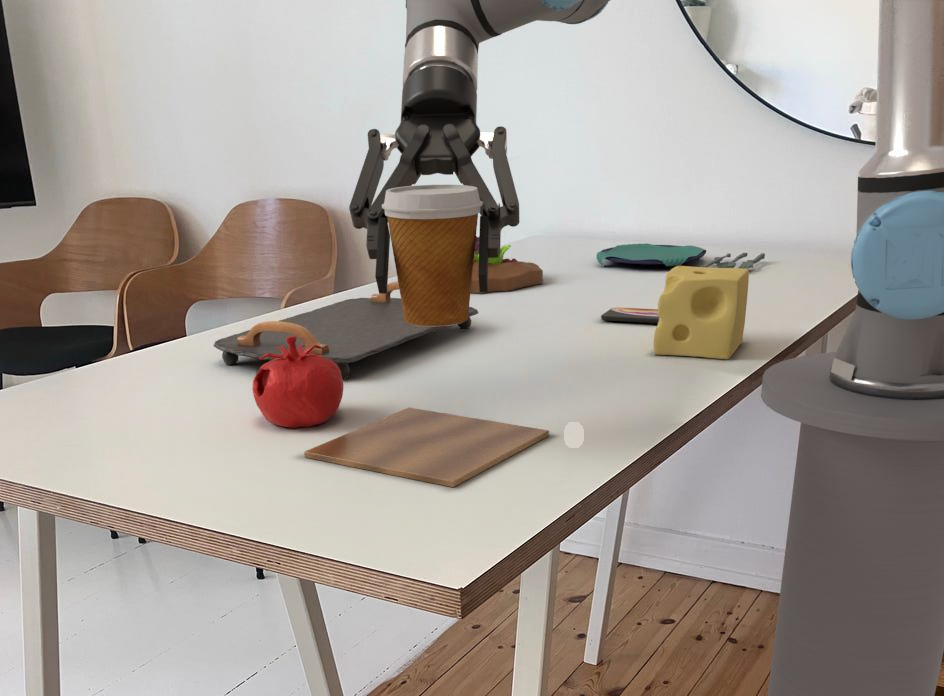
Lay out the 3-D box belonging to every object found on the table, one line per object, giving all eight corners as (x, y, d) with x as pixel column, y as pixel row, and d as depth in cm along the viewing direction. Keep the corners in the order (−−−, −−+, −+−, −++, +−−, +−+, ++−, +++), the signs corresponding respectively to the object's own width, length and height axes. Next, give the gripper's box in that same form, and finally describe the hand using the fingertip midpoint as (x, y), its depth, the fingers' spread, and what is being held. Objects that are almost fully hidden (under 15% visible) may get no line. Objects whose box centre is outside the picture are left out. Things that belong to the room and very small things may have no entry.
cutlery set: (622, 252, 220) (622, 240, 219) (770, 261, 207) (771, 248, 206) (581, 268, 205) (581, 255, 204) (738, 278, 192) (739, 264, 191)
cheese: (652, 355, 144) (657, 276, 139) (670, 337, 153) (675, 262, 148) (732, 361, 140) (740, 280, 136) (746, 342, 149) (754, 265, 144)
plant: (563, 282, 192) (564, 214, 187) (471, 297, 182) (470, 225, 177) (496, 268, 207) (495, 205, 202) (408, 281, 197) (405, 214, 192)
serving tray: (364, 313, 173) (361, 272, 170) (492, 325, 163) (492, 281, 160) (196, 369, 144) (189, 320, 141) (340, 388, 133) (336, 336, 130)
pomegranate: (357, 408, 125) (352, 325, 121) (328, 434, 116) (321, 346, 112) (276, 405, 127) (267, 323, 123) (241, 430, 119) (231, 344, 114)
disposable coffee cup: (496, 312, 111) (495, 184, 105) (465, 332, 103) (462, 195, 97) (409, 308, 114) (403, 183, 108) (372, 328, 106) (364, 194, 100)
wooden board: (549, 435, 114) (549, 430, 114) (453, 487, 101) (453, 481, 101) (409, 412, 123) (408, 407, 123) (304, 457, 110) (303, 451, 110)
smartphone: (612, 306, 168) (710, 311, 163) (612, 312, 169) (710, 317, 164) (599, 315, 162) (700, 320, 157) (599, 321, 162) (700, 327, 157)
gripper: (547, 116, 113) (546, 306, 106) (339, 121, 114) (325, 308, 108) (548, 58, 106) (547, 257, 99) (326, 64, 107) (310, 261, 101)
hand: (432, 284), depth 103 cm, fingers closed on disposable coffee cup, 9 cm apart
